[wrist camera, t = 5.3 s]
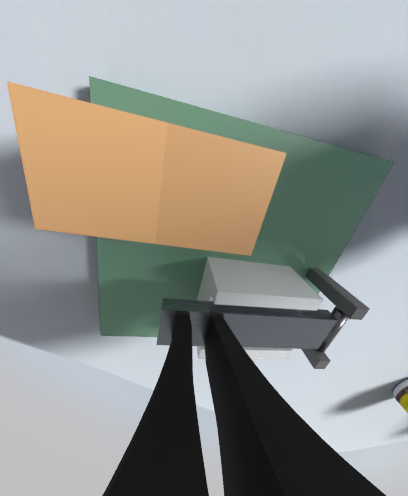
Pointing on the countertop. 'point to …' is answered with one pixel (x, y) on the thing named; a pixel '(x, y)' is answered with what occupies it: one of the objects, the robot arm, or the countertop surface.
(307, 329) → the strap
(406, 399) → the supplement bottle
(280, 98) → the countertop surface
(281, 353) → the board
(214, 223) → the orange l-shaped block
